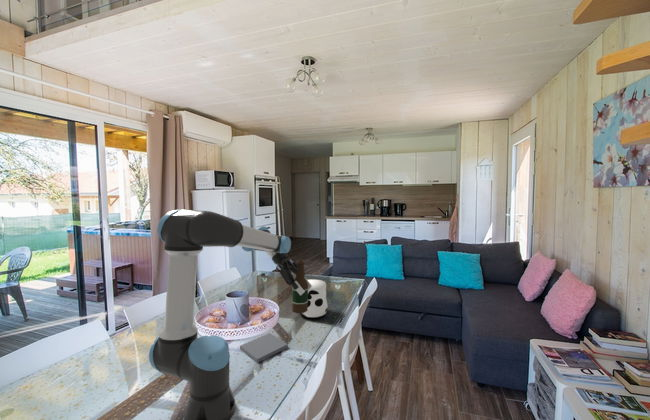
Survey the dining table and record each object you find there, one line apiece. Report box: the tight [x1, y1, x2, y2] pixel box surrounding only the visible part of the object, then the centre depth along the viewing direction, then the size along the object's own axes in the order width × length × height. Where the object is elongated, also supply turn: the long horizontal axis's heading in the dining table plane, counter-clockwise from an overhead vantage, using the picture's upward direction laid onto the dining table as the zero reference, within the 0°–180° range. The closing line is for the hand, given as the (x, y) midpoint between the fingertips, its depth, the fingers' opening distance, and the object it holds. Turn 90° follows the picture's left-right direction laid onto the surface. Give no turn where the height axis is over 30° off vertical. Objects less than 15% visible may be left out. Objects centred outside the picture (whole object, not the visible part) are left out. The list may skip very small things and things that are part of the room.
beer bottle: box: [291, 260, 308, 314], centre depth 133 cm, size 8×8×24 cm
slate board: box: [239, 332, 289, 363], centre depth 126 cm, size 16×14×2 cm
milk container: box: [298, 279, 328, 319], centre depth 161 cm, size 17×17×18 cm
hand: (306, 290), depth 132 cm, fingers closed on beer bottle, 7 cm apart
